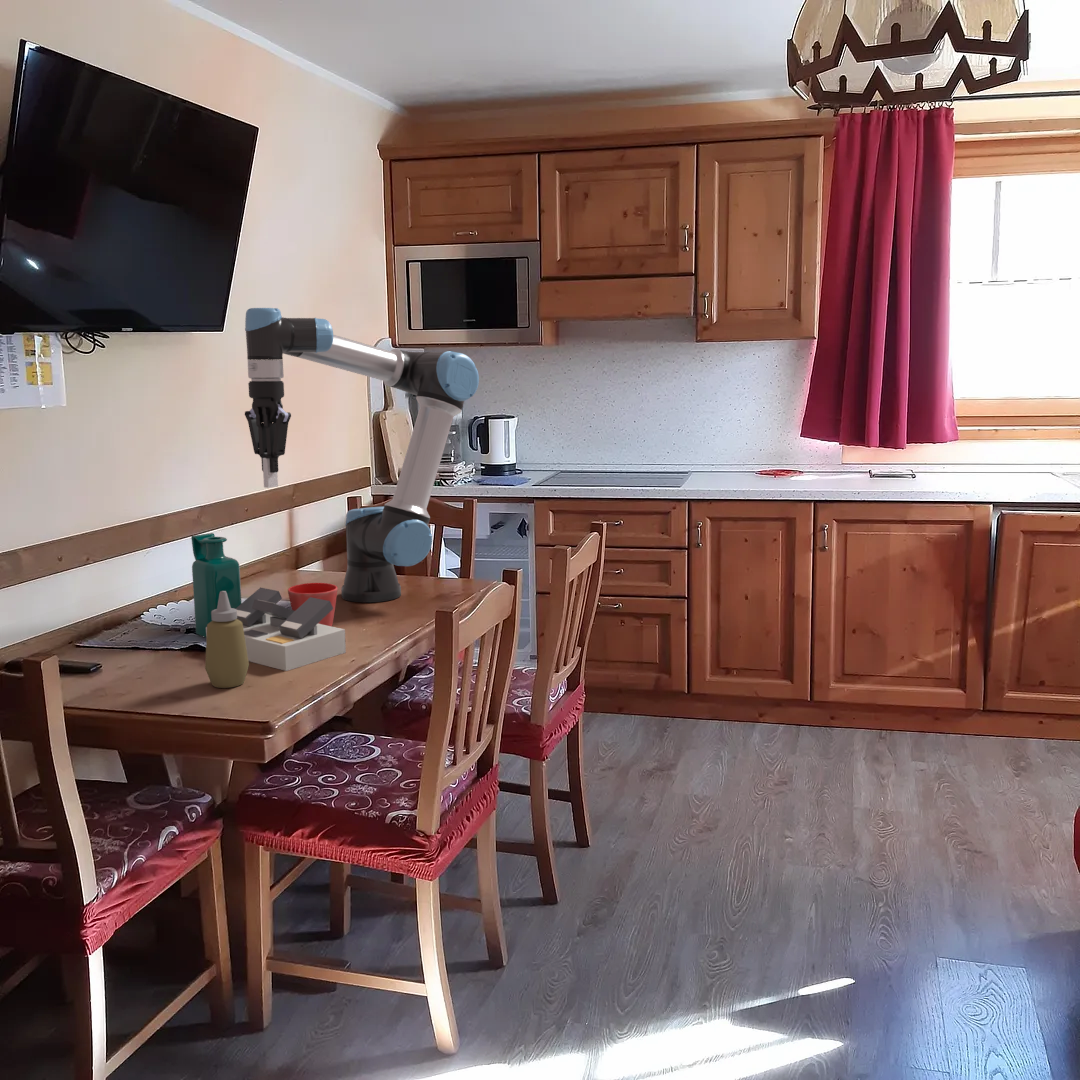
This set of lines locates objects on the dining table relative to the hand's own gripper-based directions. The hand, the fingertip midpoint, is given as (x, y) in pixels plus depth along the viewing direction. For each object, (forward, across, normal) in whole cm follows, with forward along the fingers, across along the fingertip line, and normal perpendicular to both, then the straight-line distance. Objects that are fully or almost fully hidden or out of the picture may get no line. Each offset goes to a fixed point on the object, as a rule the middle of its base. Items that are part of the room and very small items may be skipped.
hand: (270, 486), depth 236 cm
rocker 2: (+24, +15, -12) cm, 31 cm away
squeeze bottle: (+33, +25, -33) cm, 53 cm away
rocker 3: (+24, +23, -12) cm, 35 cm away
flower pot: (+33, +8, +4) cm, 34 cm away
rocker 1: (+24, +7, -12) cm, 28 cm away
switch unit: (+32, +15, -13) cm, 38 cm away
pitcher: (+33, -7, -11) cm, 35 cm away
